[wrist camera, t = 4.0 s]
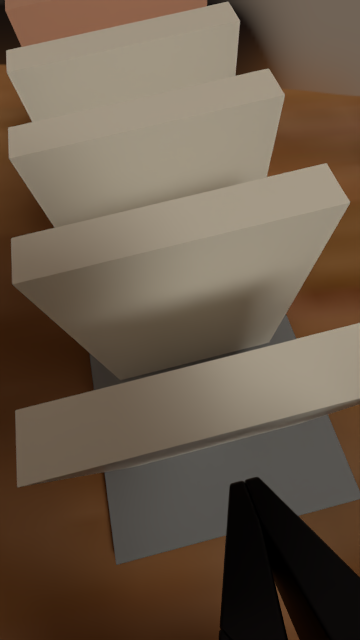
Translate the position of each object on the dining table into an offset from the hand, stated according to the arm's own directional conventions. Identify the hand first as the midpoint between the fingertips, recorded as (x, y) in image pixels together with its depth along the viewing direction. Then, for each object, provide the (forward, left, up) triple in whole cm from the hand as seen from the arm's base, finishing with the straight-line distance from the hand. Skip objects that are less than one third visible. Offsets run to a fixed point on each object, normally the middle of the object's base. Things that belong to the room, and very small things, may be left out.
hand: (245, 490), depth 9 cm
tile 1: (+2, -1, -9) cm, 9 cm away
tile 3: (+10, -7, -9) cm, 15 cm away
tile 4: (+14, -10, -9) cm, 19 cm away
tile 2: (+6, -4, -9) cm, 12 cm away
